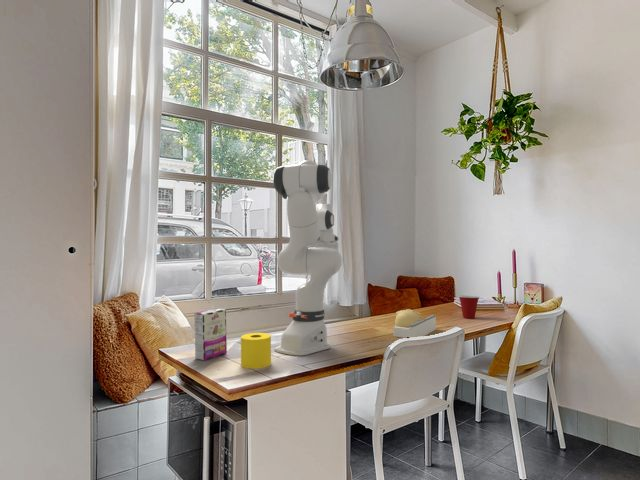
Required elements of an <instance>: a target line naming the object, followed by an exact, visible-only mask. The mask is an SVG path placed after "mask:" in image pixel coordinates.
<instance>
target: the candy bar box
mask: <svg viewBox="0 0 640 480" xmlns="http://www.w3.org/2000/svg"><path fill="white" fill-rule="evenodd" d="M194 343H195V344H194V345H195V346H194V347H195V348H194V350H195V351H194V352H195V353H194V354H195V359H196V360H199V361H200V360H201V361H208V360H211V359H214V358H216V357H219V356H222V355H225V354H227V353H228V352H227V350H228V348H227V347H228V346H227V343H228V342H227V309H225V308H215V309H214V308H213V309H209V310H204V311H199V312H195V313H194Z"/></svg>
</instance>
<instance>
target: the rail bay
mask: <svg viewBox="0 0 640 480" xmlns="http://www.w3.org/2000/svg"><path fill="white" fill-rule="evenodd" d="M392 330H393V331H392V337H396V338H403V339H408V338H407V337H417V336H423V337H425V336H427V335H428V334H431V333H432V332H434V331H436V330H437V316H436V315H435V314H431V315H429V316H427V317H425V318H421V320H420V321H418V322H415V323H413V324H411V325H410V327H409V328H405V327H396V326H395V325H394V326H393V327H392Z"/></svg>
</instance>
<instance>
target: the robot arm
mask: <svg viewBox="0 0 640 480" xmlns="http://www.w3.org/2000/svg"><path fill="white" fill-rule="evenodd" d="M272 183H273V187H274V189H275V191H276V192H277V193H278V194H279V195H280V196H281V197H282V198H283V199H284V200H287V201H286V211H287V212H286V213H287V214H286V215H287V222H288V228H289V241H288V243H287V245H286V246H285V247H284V248H282V250H281V251H280V252H279V253H278V255H277V267H278V269H279V270H280V271H281V272H282V273H285V274H290V275H300V276H301V275H302V276H304V275H308V276H310V279H309V281H308V282H305V283H303V284H301V285H299V286H297V289H296V290H295V309H294V311H293V312H289V313H288V317H289V318H291V319H292V321H291V322H290V323H289V325H288V326H287V328H286V329H285V330H284V331H283V332H282V334H281V340H280V344H279V345H278V346H275V347H274V352H277V353H280V354H285V355H290V356H306V355H310V354H313V353H317V352H321V351H324V350H328V349H331V346H330V344H329V342H328V331H327V330H328V329H327V325H326V324H325V314H326V313H325V309H324V297H325V296H324V295H325V294H324V293H325V288H326V287H327V284H328V282H329V281H330V279H331V278H332V277H333V276H334V275H336V274H337V273H338V272H339V271H340V270H341V267H342V265H343V263H342V262H343V260H342V256H341V253H340V252H339V237H338V235H336V234H335V233H334V229H333V226H334V225H335V215H334V213H333V207H332V204H330V203H325V202H324V203H323V202H321V203H317V204H315V203H316V202H319V201H320V200H321V199H322V198H323V196H324V195H325V193H327V192H329V191H330V190H331V187H332V185H333V184H332V183H333V174H332V172H331V169H330V168H329V167H328V166H327V165H326V164H325V165H324V164H317V163H316V162H314V161H313V160H309V159H306V160H303V161H300V162H299V163H297V164H290V165H281V166H278V167H276V168H275V170H274V172H273V176H272Z"/></svg>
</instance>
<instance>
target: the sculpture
mask: <svg viewBox="0 0 640 480" xmlns="http://www.w3.org/2000/svg"><path fill="white" fill-rule="evenodd" d="M395 314H396V316H395V320H394V327H395V326H396V327H405V328H409V327H410V325H411V324H413V323H415V322H418V321H420V320H422V318H421V316H422V313H421V312H418V311H416V310H413V309H410V308H406V309H401V310H398V311H396V312H395Z"/></svg>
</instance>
